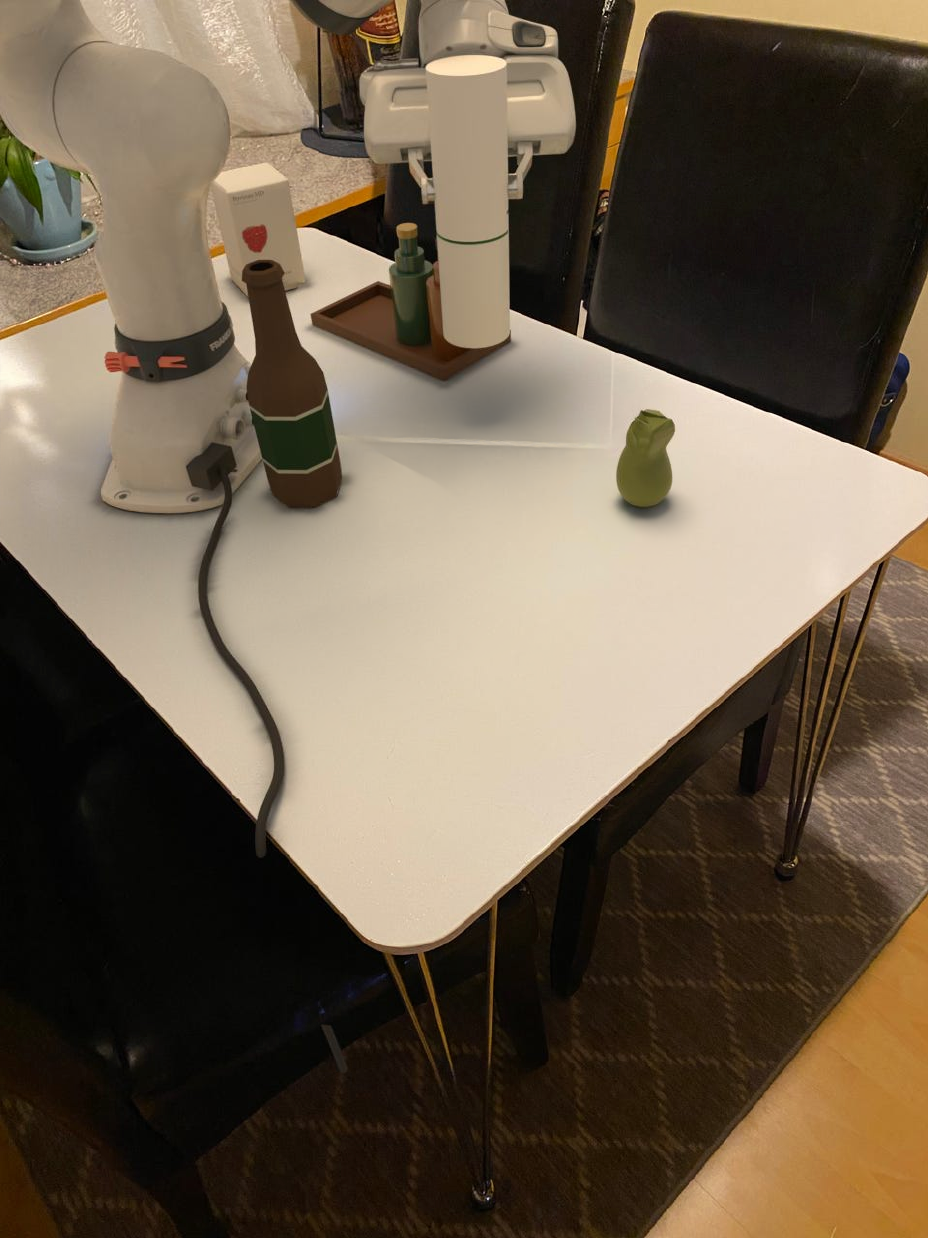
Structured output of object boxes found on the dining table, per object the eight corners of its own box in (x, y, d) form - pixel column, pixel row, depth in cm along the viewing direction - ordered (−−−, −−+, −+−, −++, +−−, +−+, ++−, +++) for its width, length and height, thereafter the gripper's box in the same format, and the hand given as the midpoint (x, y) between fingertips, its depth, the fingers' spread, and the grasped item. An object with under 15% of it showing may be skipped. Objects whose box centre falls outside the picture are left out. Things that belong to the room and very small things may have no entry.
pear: (638, 478, 94) (646, 393, 87) (680, 498, 91) (692, 412, 84) (604, 502, 91) (610, 416, 84) (646, 524, 88) (656, 437, 81)
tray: (511, 344, 116) (511, 329, 114) (444, 385, 109) (443, 369, 108) (379, 295, 128) (378, 280, 127) (312, 328, 122) (310, 313, 120)
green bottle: (434, 345, 115) (425, 235, 105) (392, 345, 116) (379, 235, 106) (440, 325, 119) (432, 217, 109) (400, 325, 120) (388, 217, 110)
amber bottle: (472, 361, 112) (466, 248, 102) (428, 360, 113) (418, 248, 103) (477, 339, 116) (472, 229, 106) (435, 339, 116) (426, 229, 107)
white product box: (249, 301, 129) (224, 192, 118) (230, 279, 134) (205, 173, 124) (308, 285, 131) (289, 177, 121) (287, 264, 137) (267, 159, 127)
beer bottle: (266, 476, 97) (211, 256, 81) (336, 461, 99) (296, 241, 82) (277, 517, 92) (221, 290, 75) (351, 501, 93) (312, 274, 77)
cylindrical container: (511, 317, 98) (509, 53, 81) (507, 348, 93) (503, 74, 76) (447, 316, 99) (431, 56, 82) (439, 348, 94) (420, 76, 77)
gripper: (353, 40, 83) (360, 188, 83) (573, 28, 83) (581, 175, 83) (362, 82, 90) (368, 219, 89) (566, 70, 89) (574, 208, 89)
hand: (472, 198), depth 86 cm, fingers closed on cylindrical container, 7 cm apart
